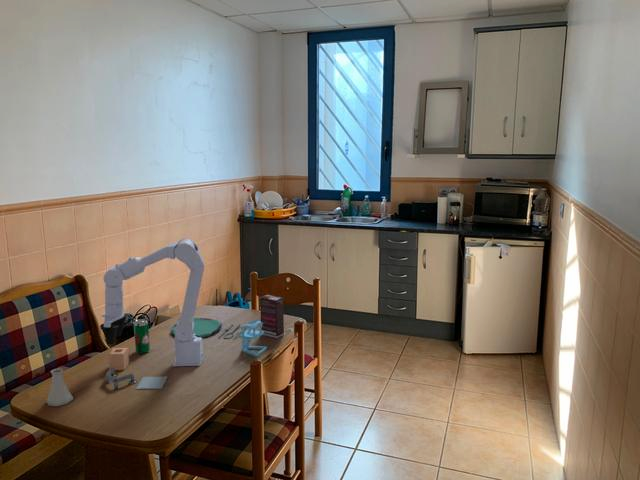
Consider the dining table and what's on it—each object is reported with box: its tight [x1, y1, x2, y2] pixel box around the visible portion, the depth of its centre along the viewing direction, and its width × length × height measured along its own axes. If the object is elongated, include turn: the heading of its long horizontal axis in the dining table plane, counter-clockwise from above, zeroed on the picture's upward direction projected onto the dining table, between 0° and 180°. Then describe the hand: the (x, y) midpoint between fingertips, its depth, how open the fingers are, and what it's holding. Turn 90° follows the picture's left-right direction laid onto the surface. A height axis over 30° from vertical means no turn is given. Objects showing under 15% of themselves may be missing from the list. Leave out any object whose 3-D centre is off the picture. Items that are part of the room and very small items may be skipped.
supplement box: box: [259, 294, 285, 339], centre depth 207 cm, size 9×5×16 cm, turn 58°
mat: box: [135, 375, 168, 390], centre depth 167 cm, size 8×8×1 cm
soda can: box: [133, 318, 151, 355], centre depth 190 cm, size 5×5×12 cm
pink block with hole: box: [108, 347, 130, 371], centre depth 178 cm, size 5×5×6 cm
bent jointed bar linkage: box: [104, 367, 138, 390], centre depth 168 cm, size 10×11×3 cm
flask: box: [46, 367, 74, 408], centre depth 154 cm, size 7×7×10 cm
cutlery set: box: [170, 317, 247, 340], centre depth 212 cm, size 20×30×2 cm, turn 78°
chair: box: [239, 319, 268, 358], centre depth 191 cm, size 8×8×12 cm
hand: (114, 339), depth 177 cm, fingers open, 7 cm apart
